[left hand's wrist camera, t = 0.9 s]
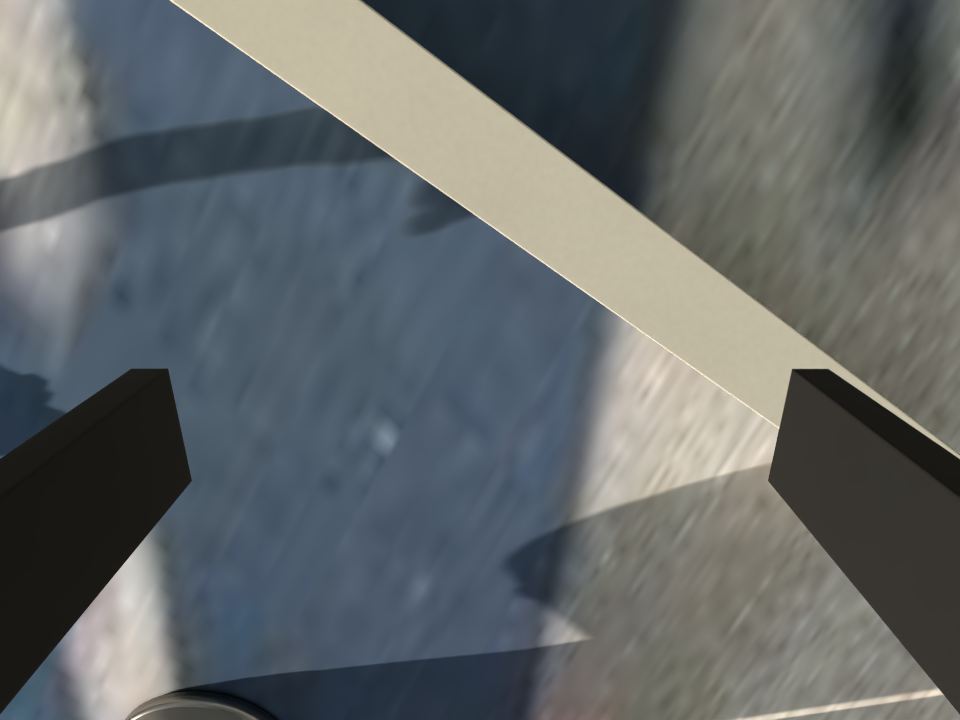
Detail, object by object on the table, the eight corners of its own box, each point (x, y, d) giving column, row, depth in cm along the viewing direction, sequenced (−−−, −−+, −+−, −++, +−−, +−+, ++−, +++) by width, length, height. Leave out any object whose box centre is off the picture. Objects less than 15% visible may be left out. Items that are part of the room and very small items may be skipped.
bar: (932, 441, 40) (1029, 507, 33) (882, 487, 41) (965, 560, 34) (119, -173, 28) (-2, -276, 21) (84, -80, 29) (-41, -148, 22)
